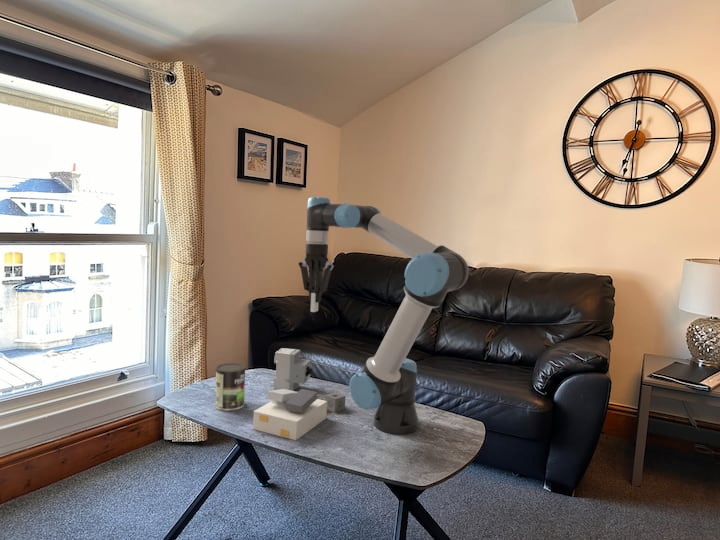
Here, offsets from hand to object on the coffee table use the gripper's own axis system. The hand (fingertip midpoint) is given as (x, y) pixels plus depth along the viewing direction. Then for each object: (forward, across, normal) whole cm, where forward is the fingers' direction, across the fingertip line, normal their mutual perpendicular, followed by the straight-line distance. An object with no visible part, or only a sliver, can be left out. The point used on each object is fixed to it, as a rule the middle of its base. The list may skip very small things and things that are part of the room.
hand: (314, 311), depth 170 cm
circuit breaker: (+37, +18, -18) cm, 45 cm away
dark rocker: (+29, -3, +11) cm, 31 cm away
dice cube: (+37, -6, -8) cm, 38 cm away
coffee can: (+37, +28, +9) cm, 47 cm away
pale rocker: (+29, +5, +11) cm, 31 cm away
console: (+36, +1, +11) cm, 38 cm away
